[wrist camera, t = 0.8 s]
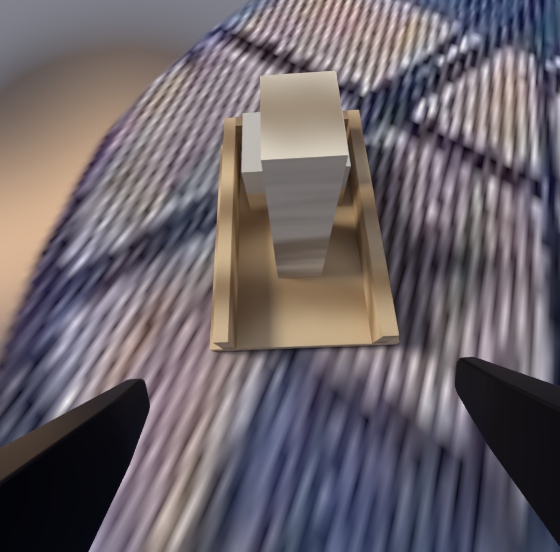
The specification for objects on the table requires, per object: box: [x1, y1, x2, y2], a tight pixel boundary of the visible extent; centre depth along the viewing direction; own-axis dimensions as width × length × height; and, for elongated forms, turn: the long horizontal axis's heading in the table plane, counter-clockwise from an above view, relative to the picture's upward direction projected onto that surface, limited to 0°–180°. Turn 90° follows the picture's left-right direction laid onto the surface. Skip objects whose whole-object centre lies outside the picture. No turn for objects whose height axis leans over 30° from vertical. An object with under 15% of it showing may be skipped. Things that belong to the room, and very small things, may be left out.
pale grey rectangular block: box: [260, 71, 348, 278], centre depth 19 cm, size 5×4×13 cm
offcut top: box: [241, 107, 351, 194], centre depth 24 cm, size 6×8×2 cm
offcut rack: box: [210, 110, 400, 351], centre depth 25 cm, size 20×14×4 cm
